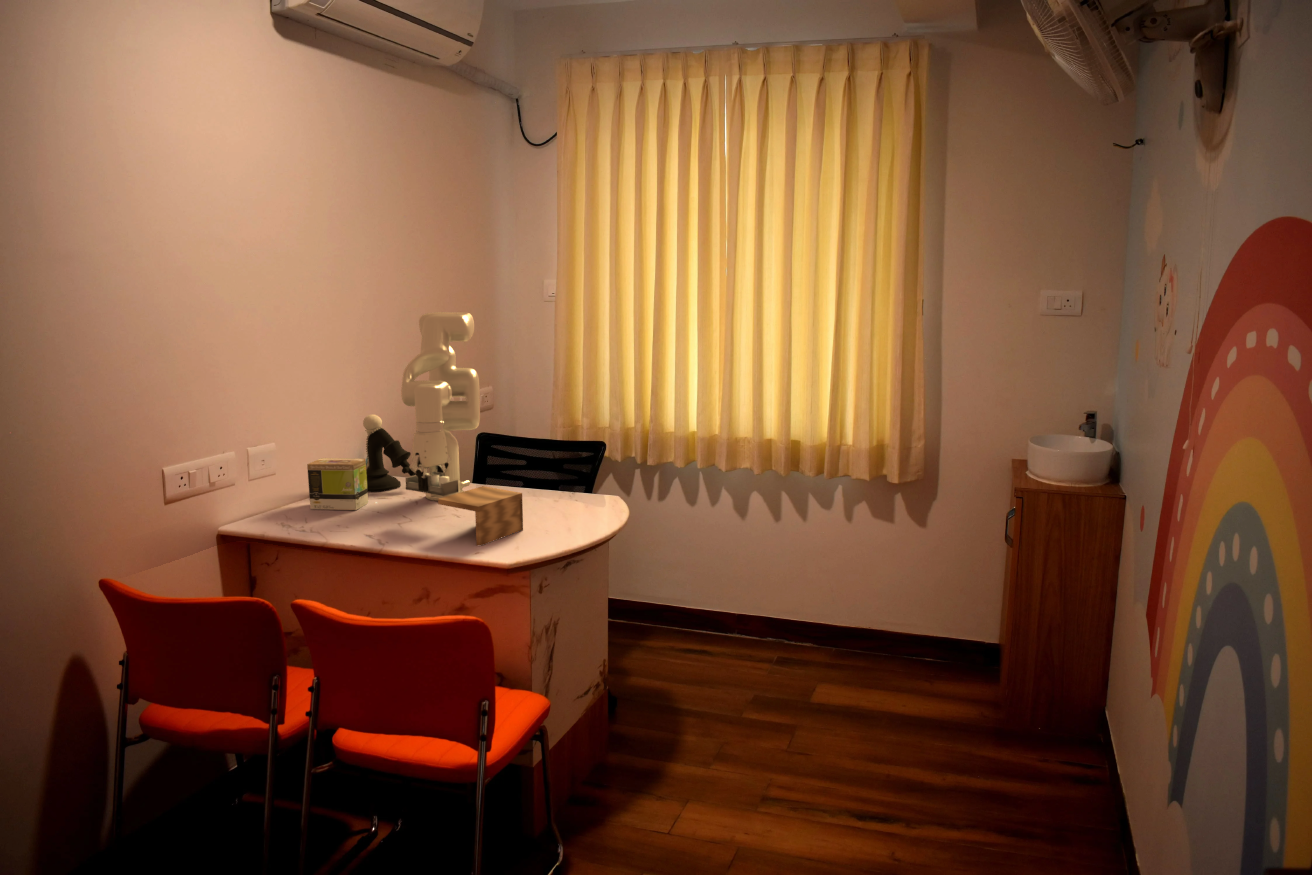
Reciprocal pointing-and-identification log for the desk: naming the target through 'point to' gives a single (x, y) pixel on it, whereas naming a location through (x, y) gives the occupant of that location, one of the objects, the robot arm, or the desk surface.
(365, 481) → the tea box
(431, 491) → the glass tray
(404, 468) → the sculpture
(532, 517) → the desk surface
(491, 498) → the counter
